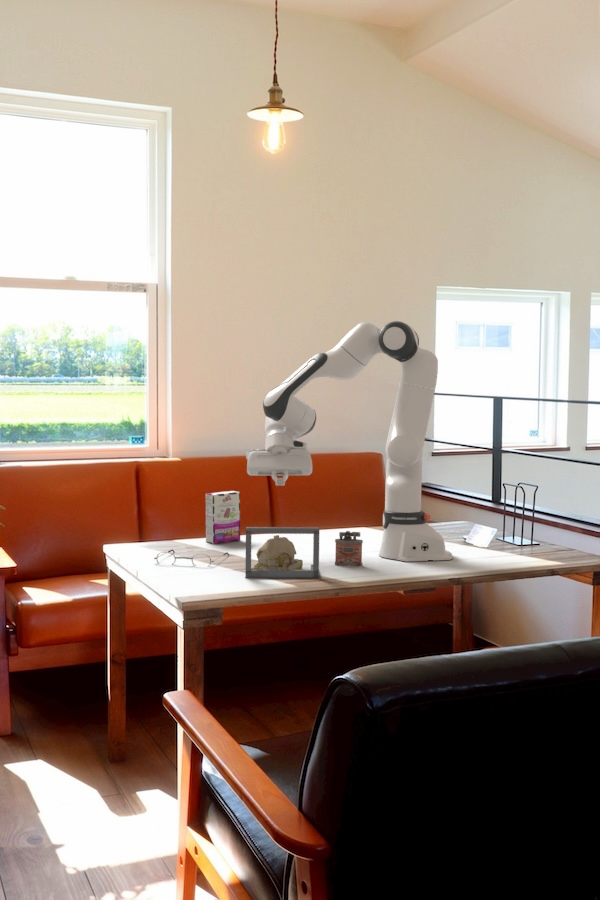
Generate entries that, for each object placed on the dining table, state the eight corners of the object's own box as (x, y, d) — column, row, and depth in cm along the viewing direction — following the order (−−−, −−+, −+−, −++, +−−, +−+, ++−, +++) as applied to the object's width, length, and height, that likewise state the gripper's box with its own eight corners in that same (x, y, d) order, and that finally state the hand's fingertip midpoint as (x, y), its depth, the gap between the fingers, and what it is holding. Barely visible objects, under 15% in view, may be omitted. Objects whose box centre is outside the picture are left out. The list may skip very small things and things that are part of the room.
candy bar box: (231, 538, 313) (232, 490, 312) (240, 540, 310) (241, 491, 308) (204, 542, 306) (204, 492, 305) (213, 544, 302) (213, 494, 301)
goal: (316, 569, 265) (316, 522, 264) (318, 578, 254) (319, 528, 253) (245, 569, 264) (246, 521, 262) (245, 577, 253) (245, 527, 252)
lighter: (334, 565, 271) (334, 531, 270) (335, 563, 274) (335, 529, 273) (361, 566, 270) (362, 532, 269) (362, 564, 273) (363, 530, 272)
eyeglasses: (153, 565, 270) (153, 551, 270) (173, 555, 288) (173, 542, 288) (213, 568, 267) (213, 554, 266) (229, 558, 285) (230, 545, 285)
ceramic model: (266, 576, 256) (267, 540, 255) (245, 569, 265) (245, 534, 264) (308, 570, 264) (308, 536, 263) (286, 564, 273) (286, 530, 272)
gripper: (245, 443, 288) (245, 478, 279) (311, 443, 289) (313, 477, 280) (246, 456, 293) (246, 490, 284) (310, 456, 294) (312, 490, 285)
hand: (280, 484), depth 282 cm, fingers closed
